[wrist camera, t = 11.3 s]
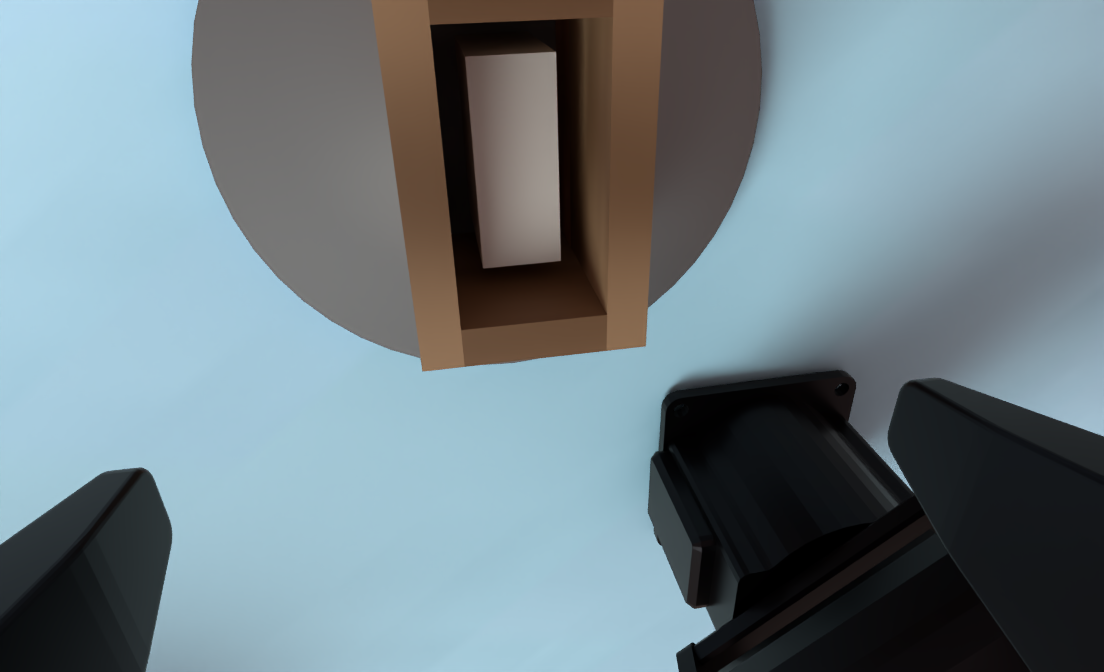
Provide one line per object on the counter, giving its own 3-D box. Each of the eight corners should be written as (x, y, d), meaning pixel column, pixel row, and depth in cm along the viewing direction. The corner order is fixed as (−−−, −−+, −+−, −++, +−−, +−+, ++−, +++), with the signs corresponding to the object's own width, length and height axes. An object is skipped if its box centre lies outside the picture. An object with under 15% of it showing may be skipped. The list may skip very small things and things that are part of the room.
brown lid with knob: (776, -218, 14) (909, -280, 11) (719, 321, 21) (788, 404, 17) (118, -220, 13) (-10, -294, 9) (277, 371, 19) (244, 478, 15)
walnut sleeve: (589, 251, 18) (645, 346, 14) (419, 266, 17) (422, 371, 13) (591, -47, 15) (666, -44, 10) (379, -40, 14) (366, -36, 10)
